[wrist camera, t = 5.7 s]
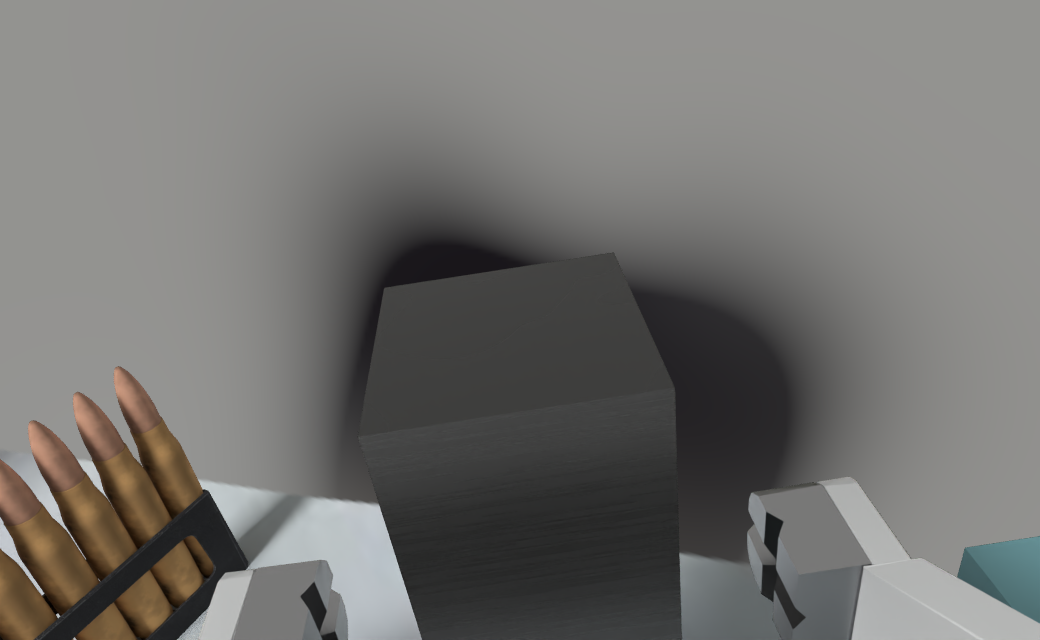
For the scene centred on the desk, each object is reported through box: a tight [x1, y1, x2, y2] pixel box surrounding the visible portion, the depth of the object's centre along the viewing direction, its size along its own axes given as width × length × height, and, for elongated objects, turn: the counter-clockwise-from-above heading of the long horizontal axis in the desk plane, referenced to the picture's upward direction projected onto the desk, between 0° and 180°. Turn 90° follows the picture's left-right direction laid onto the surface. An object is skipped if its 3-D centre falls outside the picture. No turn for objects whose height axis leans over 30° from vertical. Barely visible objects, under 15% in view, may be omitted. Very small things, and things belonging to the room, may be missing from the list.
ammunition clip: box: [0, 366, 248, 640], centre depth 28 cm, size 11×2×12 cm, turn 152°
